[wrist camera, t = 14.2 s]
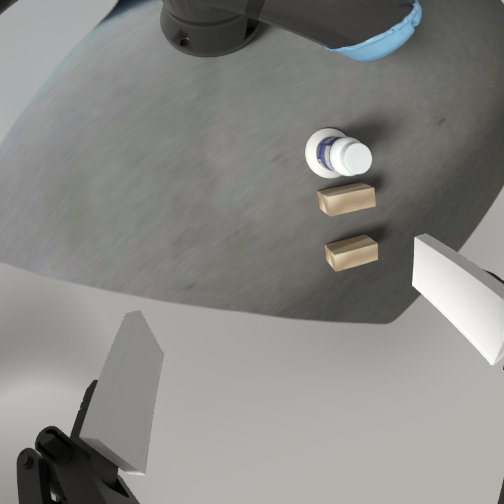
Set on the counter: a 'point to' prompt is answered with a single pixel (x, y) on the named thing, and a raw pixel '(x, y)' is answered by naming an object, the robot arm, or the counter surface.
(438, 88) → the counter surface
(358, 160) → the pill bottle
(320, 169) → the pad
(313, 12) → the robot arm
